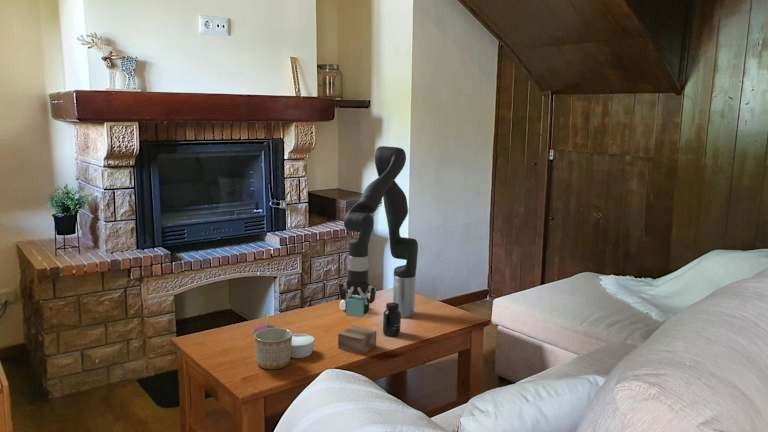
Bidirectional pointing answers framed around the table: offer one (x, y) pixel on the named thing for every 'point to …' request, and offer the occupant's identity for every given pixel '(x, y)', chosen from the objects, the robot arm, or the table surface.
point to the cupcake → (262, 326)
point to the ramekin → (301, 345)
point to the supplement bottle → (391, 319)
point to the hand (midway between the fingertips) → (357, 312)
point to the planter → (273, 347)
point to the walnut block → (357, 340)
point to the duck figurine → (343, 304)
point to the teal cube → (355, 306)
